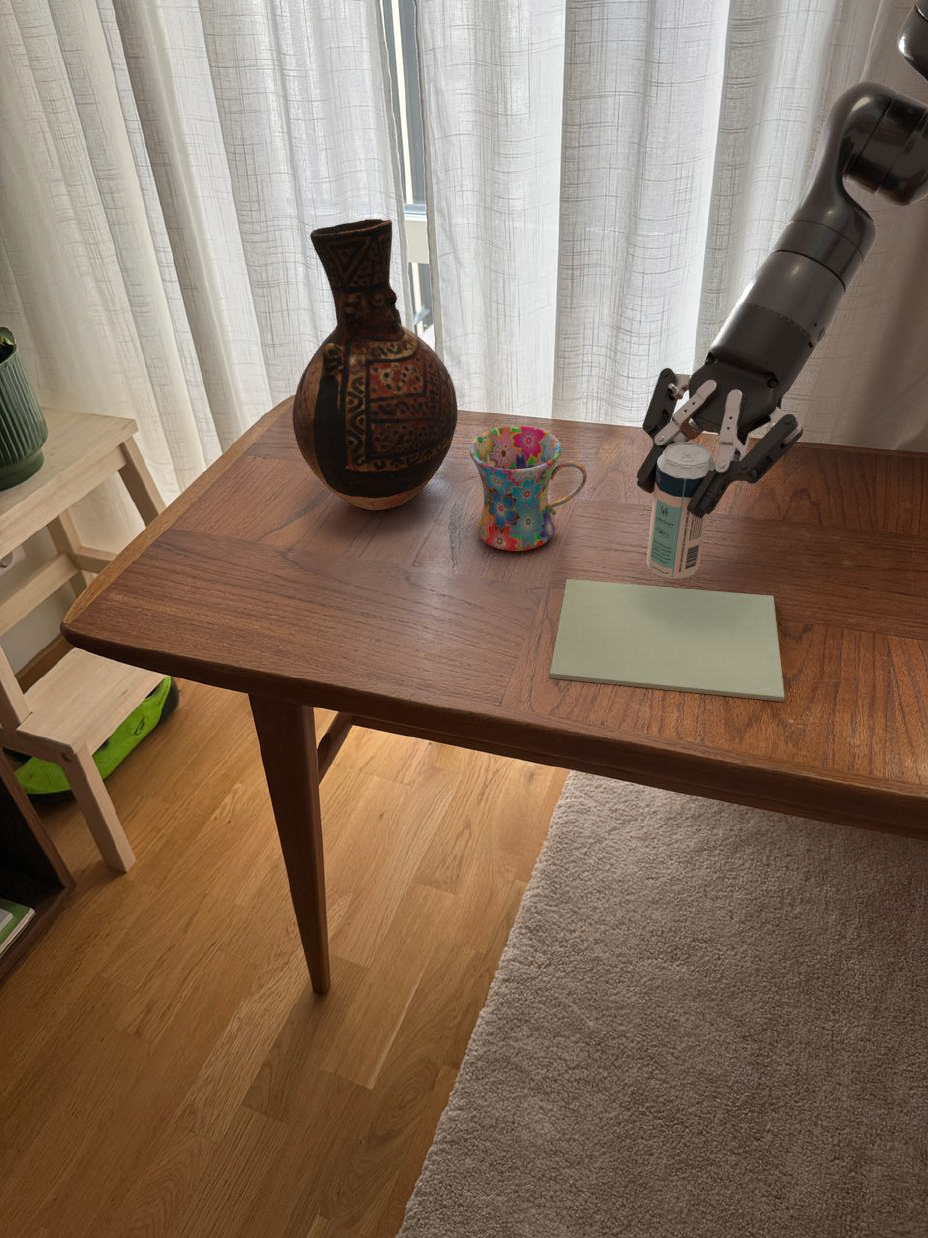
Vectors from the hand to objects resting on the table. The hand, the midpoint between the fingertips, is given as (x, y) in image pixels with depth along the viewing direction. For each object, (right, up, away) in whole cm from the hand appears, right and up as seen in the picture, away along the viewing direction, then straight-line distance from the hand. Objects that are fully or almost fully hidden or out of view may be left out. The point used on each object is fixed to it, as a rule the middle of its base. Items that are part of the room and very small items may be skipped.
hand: (668, 500), depth 76 cm
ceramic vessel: (-27, +5, +29) cm, 40 cm away
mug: (-11, -1, +20) cm, 23 cm away
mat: (+1, -12, +6) cm, 14 cm away
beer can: (+2, -6, +6) cm, 9 cm away
